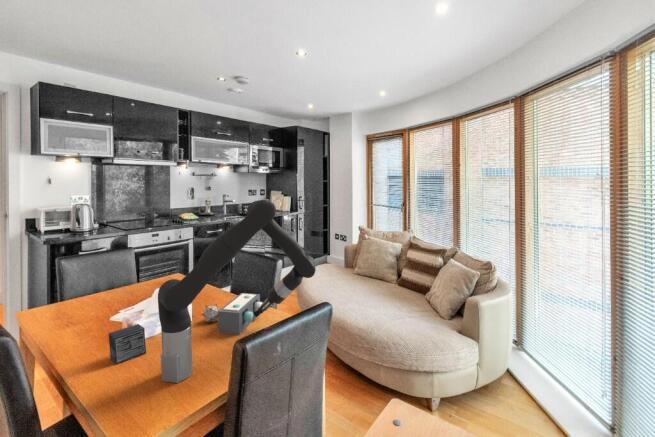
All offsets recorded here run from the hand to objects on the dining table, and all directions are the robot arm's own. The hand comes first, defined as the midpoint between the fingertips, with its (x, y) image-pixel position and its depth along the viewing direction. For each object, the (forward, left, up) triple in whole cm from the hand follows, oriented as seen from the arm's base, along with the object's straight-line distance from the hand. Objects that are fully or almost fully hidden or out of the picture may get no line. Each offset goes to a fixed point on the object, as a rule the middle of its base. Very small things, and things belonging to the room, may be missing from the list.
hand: (255, 315), depth 143 cm
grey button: (+12, +4, -3) cm, 13 cm away
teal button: (0, +4, -3) cm, 5 cm away
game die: (+4, +24, -7) cm, 25 cm away
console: (+6, +10, -7) cm, 14 cm away
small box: (-30, +39, -7) cm, 50 cm away
